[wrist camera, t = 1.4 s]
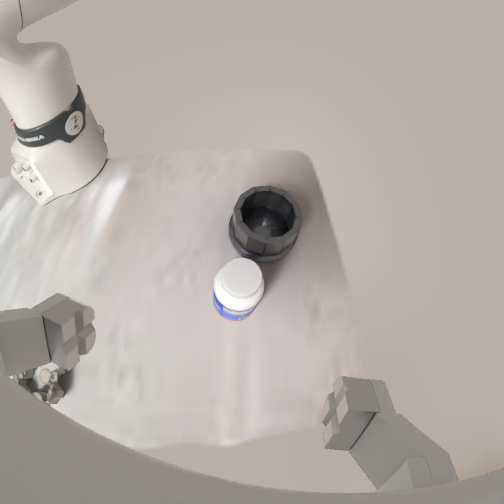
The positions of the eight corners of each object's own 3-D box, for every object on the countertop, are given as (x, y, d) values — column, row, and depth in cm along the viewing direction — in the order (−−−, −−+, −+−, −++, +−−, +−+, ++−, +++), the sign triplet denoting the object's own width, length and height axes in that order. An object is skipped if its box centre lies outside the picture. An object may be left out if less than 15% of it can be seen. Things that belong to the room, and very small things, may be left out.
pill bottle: (215, 279, 38) (216, 246, 29) (256, 283, 38) (270, 252, 30) (211, 320, 36) (210, 299, 27) (254, 324, 36) (268, 304, 27)
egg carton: (65, 409, 28) (50, 411, 24) (24, 392, 27) (7, 391, 23) (74, 334, 32) (60, 328, 29) (33, 321, 32) (18, 315, 28)
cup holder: (218, 247, 40) (219, 229, 35) (243, 195, 44) (246, 174, 40) (284, 273, 40) (293, 258, 35) (302, 217, 44) (312, 198, 39)
